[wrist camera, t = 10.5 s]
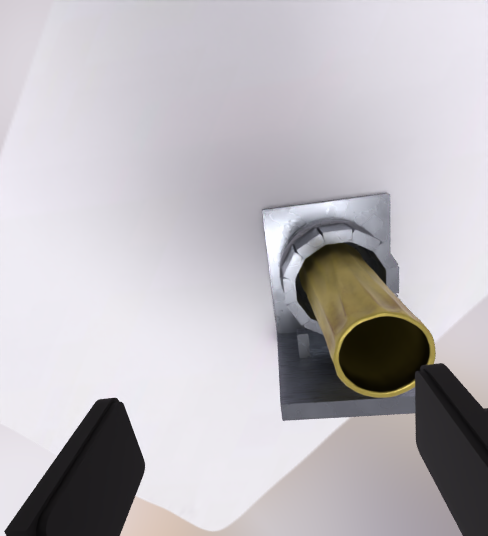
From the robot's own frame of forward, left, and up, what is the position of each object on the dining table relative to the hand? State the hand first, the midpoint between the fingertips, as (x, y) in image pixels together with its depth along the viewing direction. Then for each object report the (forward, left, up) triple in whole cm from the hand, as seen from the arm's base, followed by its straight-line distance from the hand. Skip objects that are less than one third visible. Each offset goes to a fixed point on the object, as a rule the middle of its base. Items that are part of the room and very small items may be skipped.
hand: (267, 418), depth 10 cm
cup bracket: (+3, +6, -24) cm, 25 cm away
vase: (+3, +6, -21) cm, 22 cm away
